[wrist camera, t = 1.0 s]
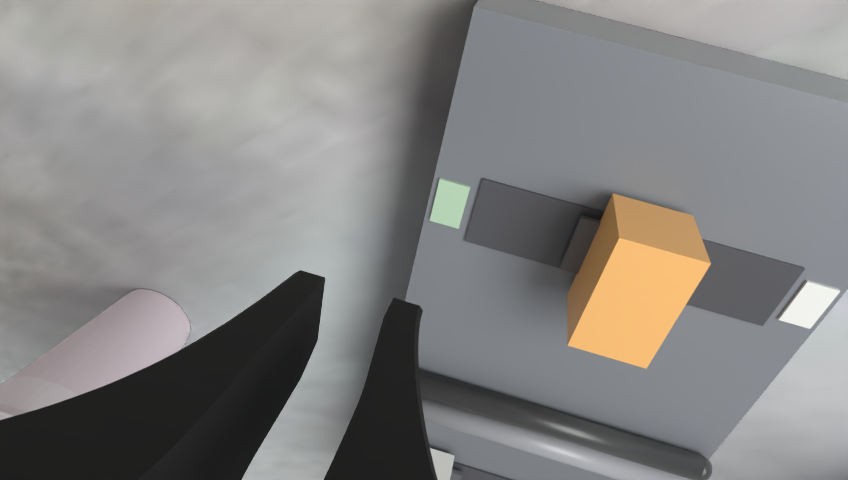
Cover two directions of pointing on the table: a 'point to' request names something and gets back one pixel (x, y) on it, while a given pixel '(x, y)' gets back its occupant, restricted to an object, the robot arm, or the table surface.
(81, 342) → the smoothie
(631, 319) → the block
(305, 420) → the table surface
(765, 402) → the table surface
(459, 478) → the block
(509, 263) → the panel
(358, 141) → the table surface
